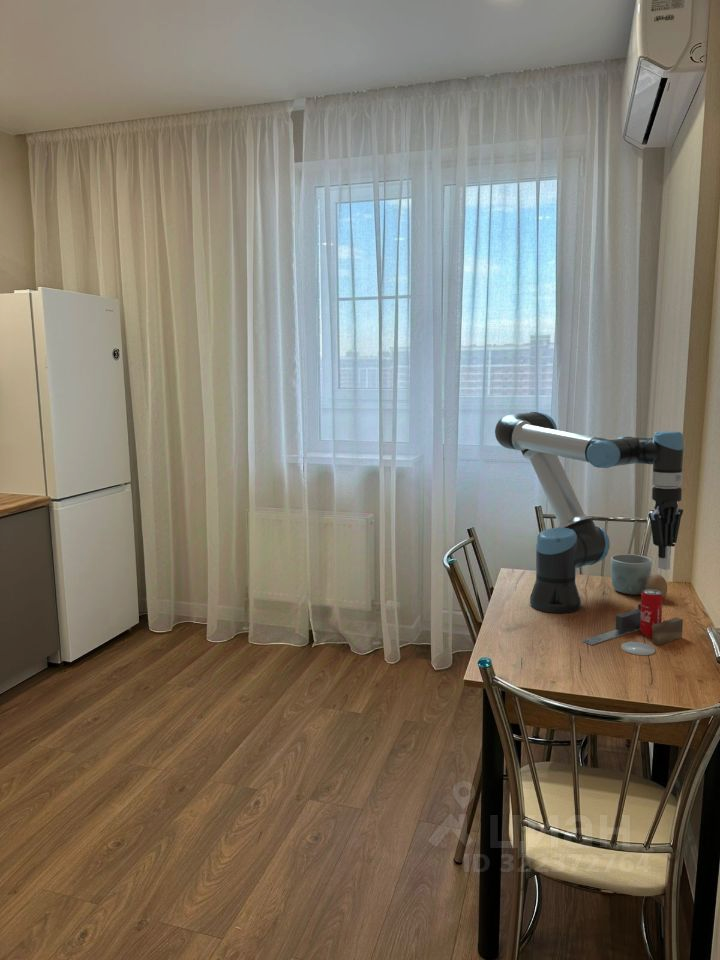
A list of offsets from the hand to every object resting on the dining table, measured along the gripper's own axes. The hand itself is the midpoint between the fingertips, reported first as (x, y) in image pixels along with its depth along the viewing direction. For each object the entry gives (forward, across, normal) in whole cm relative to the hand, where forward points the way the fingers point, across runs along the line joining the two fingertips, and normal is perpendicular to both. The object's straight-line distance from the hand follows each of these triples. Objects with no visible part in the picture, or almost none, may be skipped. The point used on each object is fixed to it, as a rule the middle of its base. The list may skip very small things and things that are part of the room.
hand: (664, 568), depth 189 cm
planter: (+15, +16, +22) cm, 31 cm away
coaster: (+15, -24, -10) cm, 30 cm away
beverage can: (+15, -13, -5) cm, 21 cm away
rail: (+15, -20, 0) cm, 25 cm away
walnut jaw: (+15, -13, -10) cm, 22 cm away
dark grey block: (+15, -13, 0) cm, 20 cm away
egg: (+15, +15, +12) cm, 25 cm away
